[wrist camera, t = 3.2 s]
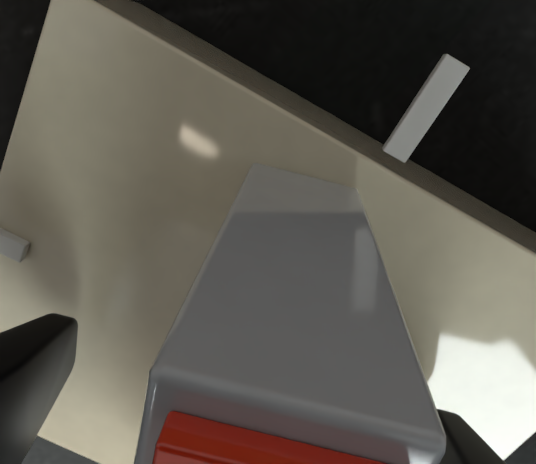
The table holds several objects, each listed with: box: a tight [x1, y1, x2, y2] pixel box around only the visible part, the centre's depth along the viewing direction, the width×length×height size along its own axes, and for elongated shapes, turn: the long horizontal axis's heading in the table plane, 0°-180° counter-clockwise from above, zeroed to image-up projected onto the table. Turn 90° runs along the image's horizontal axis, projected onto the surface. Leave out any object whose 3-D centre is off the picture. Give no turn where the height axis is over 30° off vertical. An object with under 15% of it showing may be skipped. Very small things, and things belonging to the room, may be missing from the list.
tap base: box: [0, 0, 536, 464], centre depth 9 cm, size 11×11×3 cm
